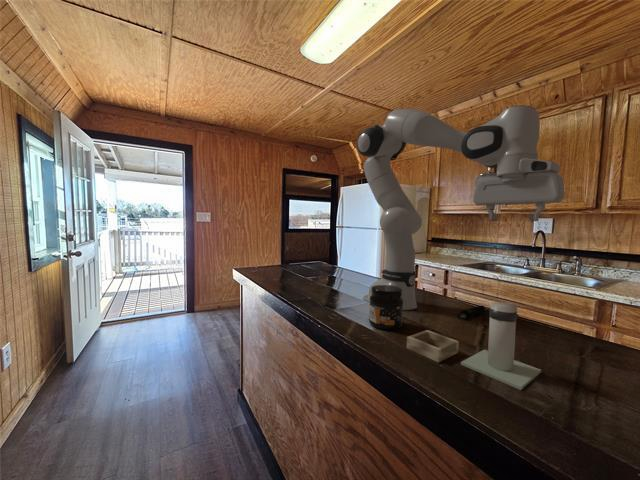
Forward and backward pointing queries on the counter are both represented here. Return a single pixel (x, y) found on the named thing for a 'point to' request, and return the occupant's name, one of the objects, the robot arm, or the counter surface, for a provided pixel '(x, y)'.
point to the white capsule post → (502, 335)
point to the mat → (514, 378)
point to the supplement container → (386, 307)
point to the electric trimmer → (471, 313)
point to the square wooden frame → (420, 345)
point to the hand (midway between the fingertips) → (512, 221)
